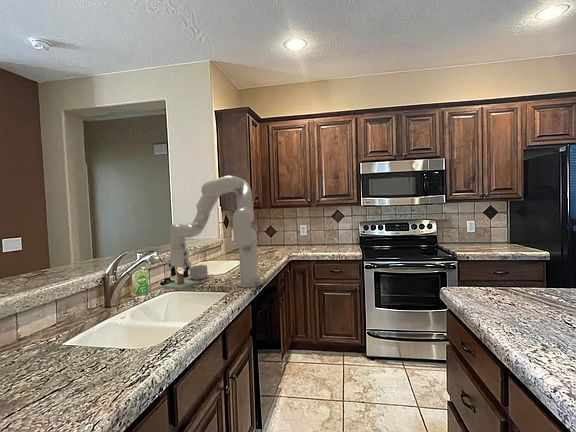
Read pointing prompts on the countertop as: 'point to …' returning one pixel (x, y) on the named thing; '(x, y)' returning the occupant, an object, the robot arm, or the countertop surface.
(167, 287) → the mat
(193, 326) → the countertop surface
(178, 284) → the lid
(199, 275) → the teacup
